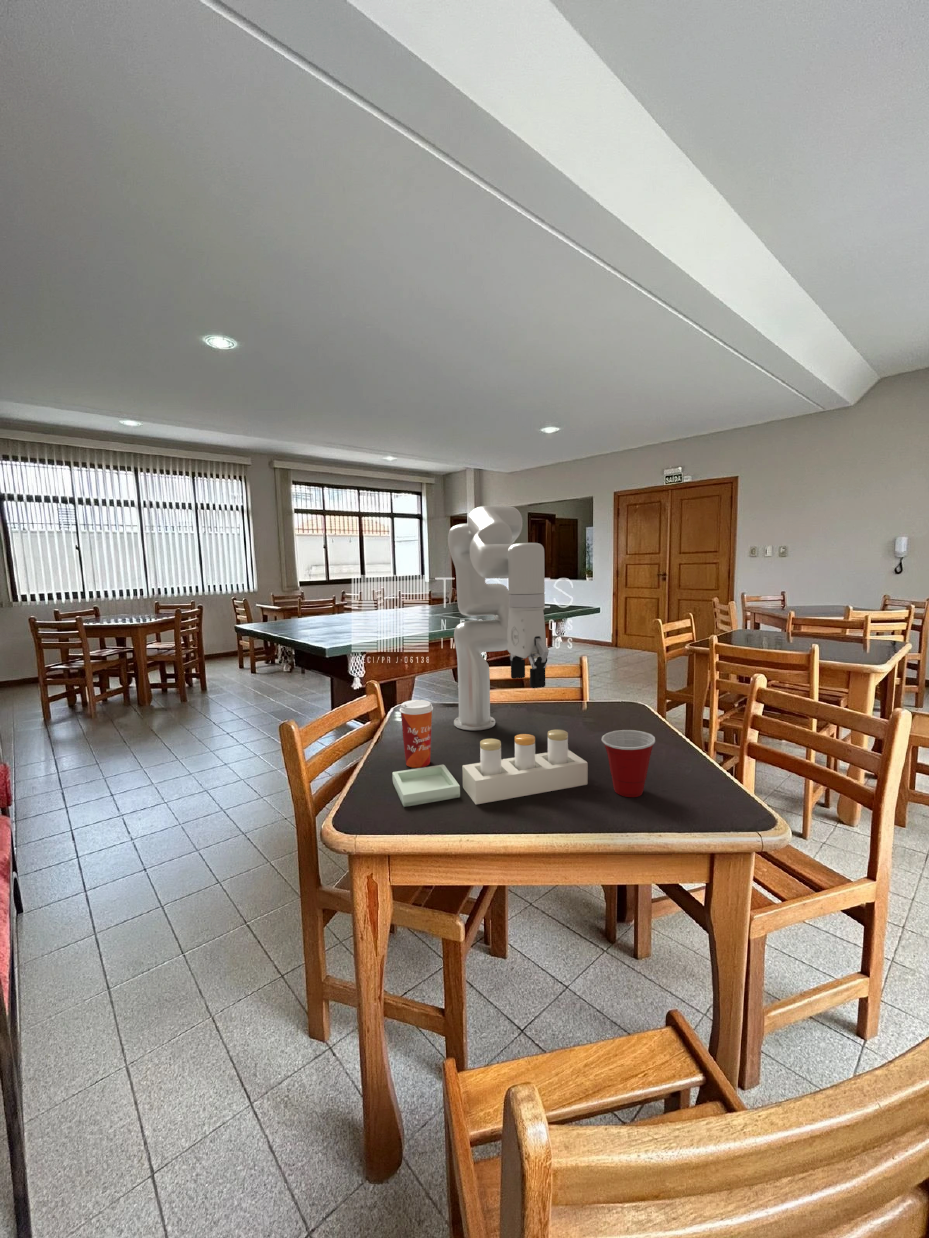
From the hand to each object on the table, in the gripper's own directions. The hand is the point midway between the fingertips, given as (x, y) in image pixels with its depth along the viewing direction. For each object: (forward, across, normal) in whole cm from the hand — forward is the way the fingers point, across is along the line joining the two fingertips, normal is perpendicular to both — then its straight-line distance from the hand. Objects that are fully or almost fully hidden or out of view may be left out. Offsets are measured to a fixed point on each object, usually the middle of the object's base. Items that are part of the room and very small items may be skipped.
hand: (527, 682), depth 107 cm
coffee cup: (+23, -22, -20) cm, 37 cm away
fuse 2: (+23, -1, +8) cm, 24 cm away
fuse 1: (+23, -1, -8) cm, 25 cm away
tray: (+23, -7, -22) cm, 32 cm away
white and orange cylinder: (+23, -1, 0) cm, 23 cm away
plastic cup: (+24, +9, +19) cm, 31 cm away
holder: (+23, -1, 0) cm, 23 cm away
